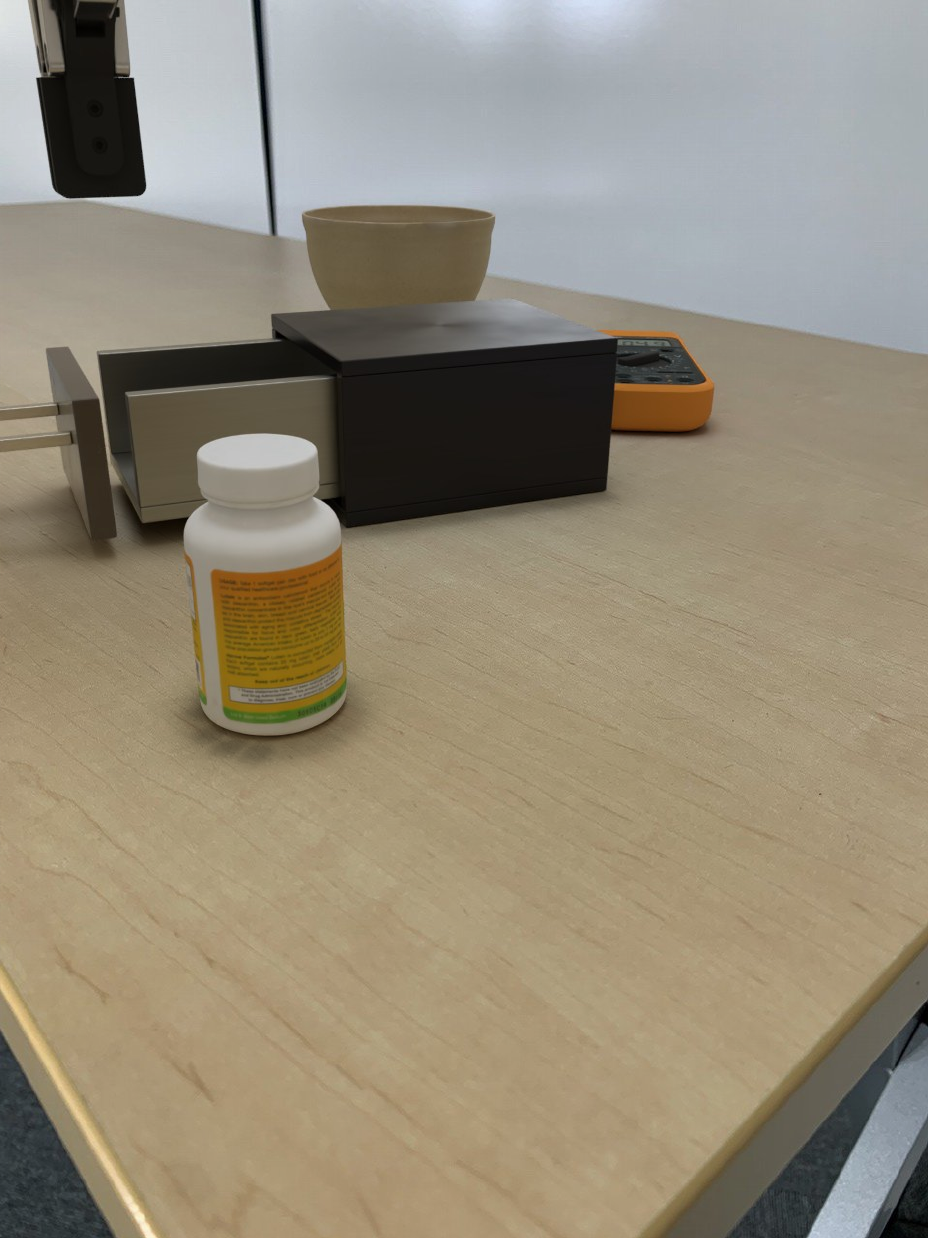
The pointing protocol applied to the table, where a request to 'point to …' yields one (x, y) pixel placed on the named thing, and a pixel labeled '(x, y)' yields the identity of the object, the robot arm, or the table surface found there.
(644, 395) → the multimeter
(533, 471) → the dark drawer cabinet
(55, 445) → the sliding drawer
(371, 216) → the planter bowl
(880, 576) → the table surface
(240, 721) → the supplement bottle
